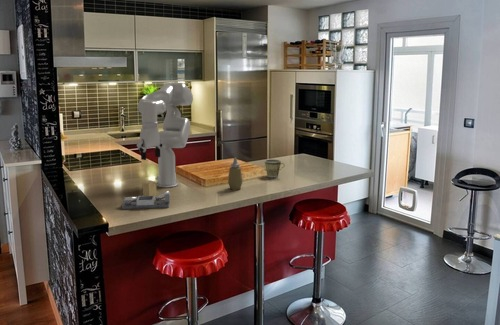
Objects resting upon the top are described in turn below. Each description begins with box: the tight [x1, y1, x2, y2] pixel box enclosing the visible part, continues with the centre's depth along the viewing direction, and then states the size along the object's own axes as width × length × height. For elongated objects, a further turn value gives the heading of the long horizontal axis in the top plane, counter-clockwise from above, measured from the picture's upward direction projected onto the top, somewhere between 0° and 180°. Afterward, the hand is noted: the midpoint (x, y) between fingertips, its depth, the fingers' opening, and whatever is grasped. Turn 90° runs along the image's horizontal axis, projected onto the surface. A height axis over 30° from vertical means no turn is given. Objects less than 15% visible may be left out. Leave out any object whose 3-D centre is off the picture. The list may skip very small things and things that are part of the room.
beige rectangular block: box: [142, 180, 158, 197], centre depth 229 cm, size 5×5×8 cm
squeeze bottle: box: [227, 157, 243, 191], centre depth 245 cm, size 8×8×18 cm
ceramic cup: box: [264, 158, 285, 179], centre depth 274 cm, size 13×10×10 cm
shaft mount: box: [121, 190, 171, 211], centre depth 213 cm, size 23×9×7 cm, turn 99°
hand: (150, 158), depth 225 cm, fingers open, 9 cm apart
